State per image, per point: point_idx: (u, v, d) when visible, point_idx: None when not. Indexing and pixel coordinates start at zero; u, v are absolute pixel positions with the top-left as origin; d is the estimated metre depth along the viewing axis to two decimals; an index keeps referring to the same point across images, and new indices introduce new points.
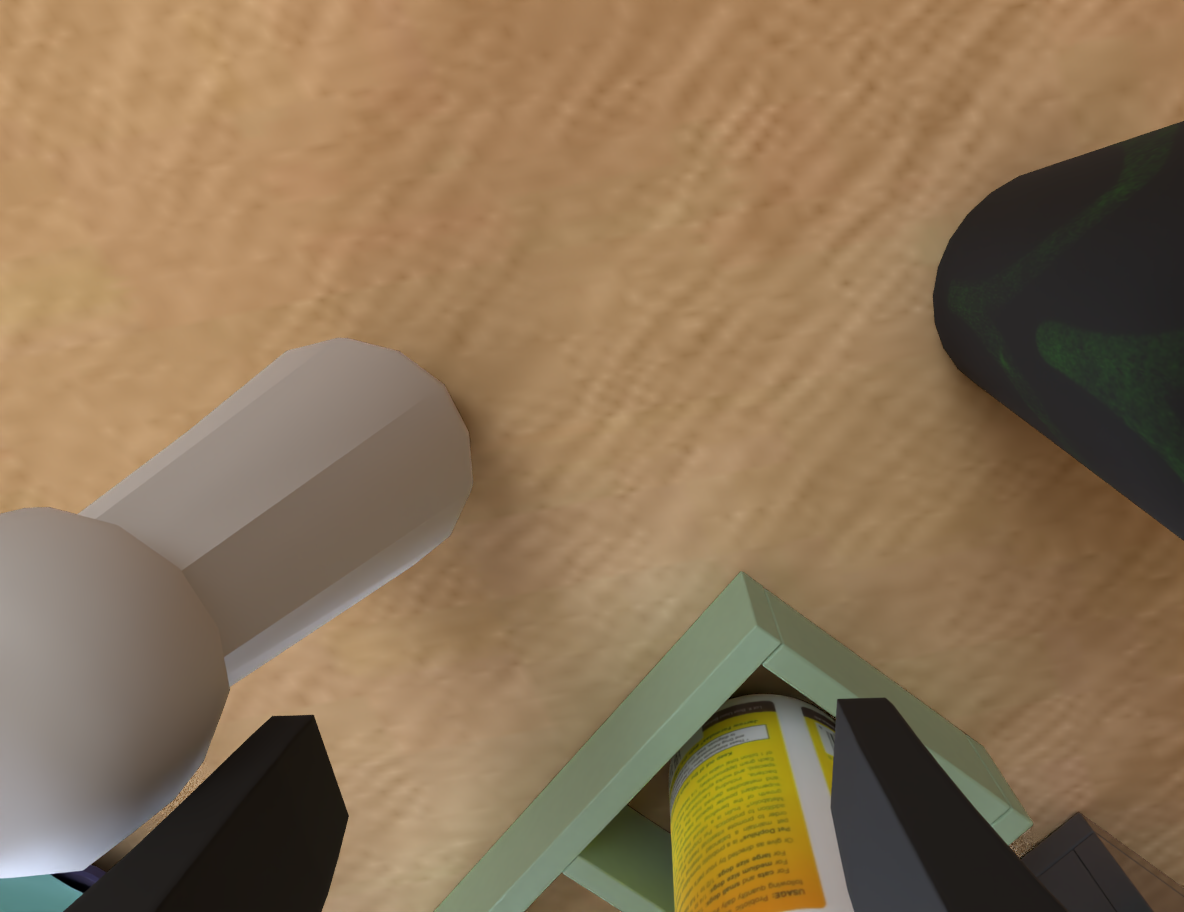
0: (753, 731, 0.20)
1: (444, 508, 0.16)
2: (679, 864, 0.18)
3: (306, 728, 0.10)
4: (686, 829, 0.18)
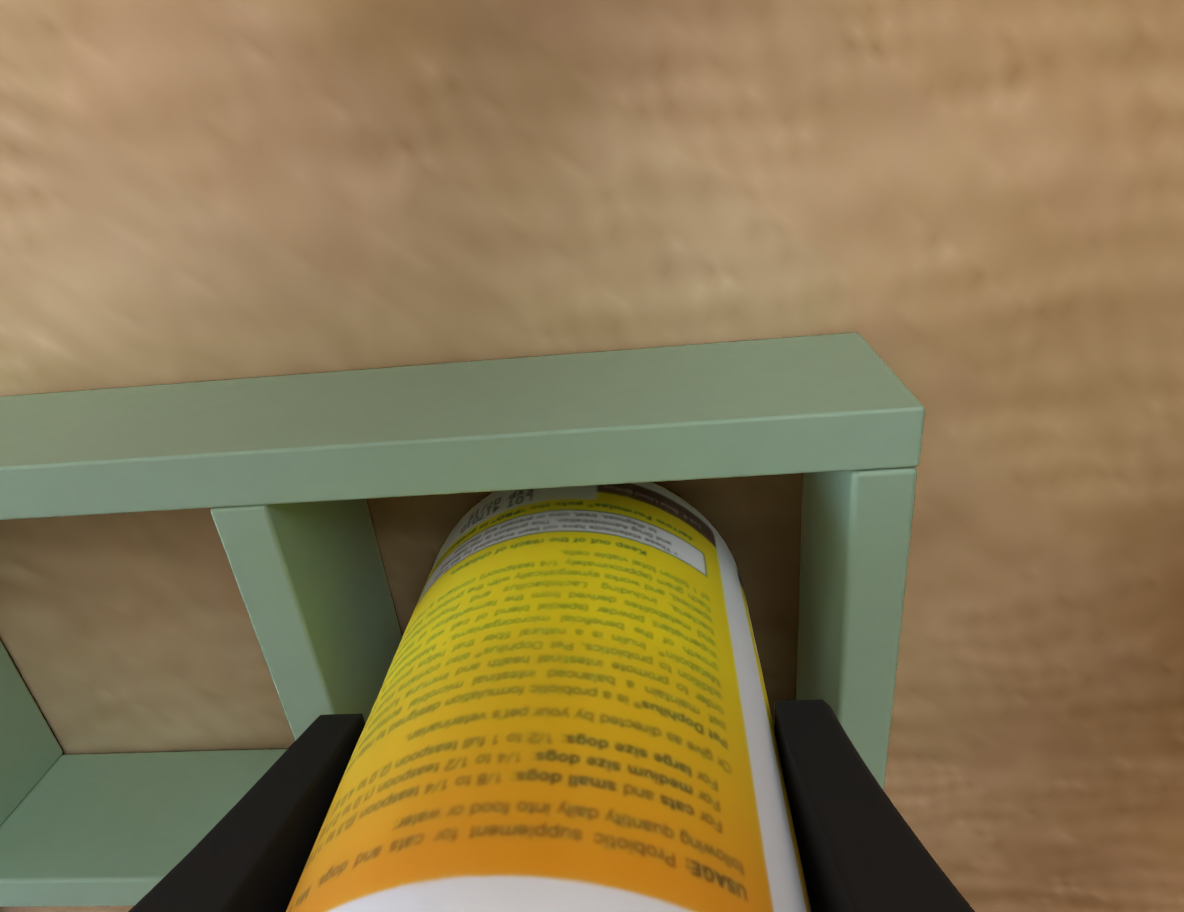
0: (687, 550, 0.11)
1: None
2: (457, 651, 0.09)
3: (355, 726, 0.10)
4: (504, 605, 0.09)
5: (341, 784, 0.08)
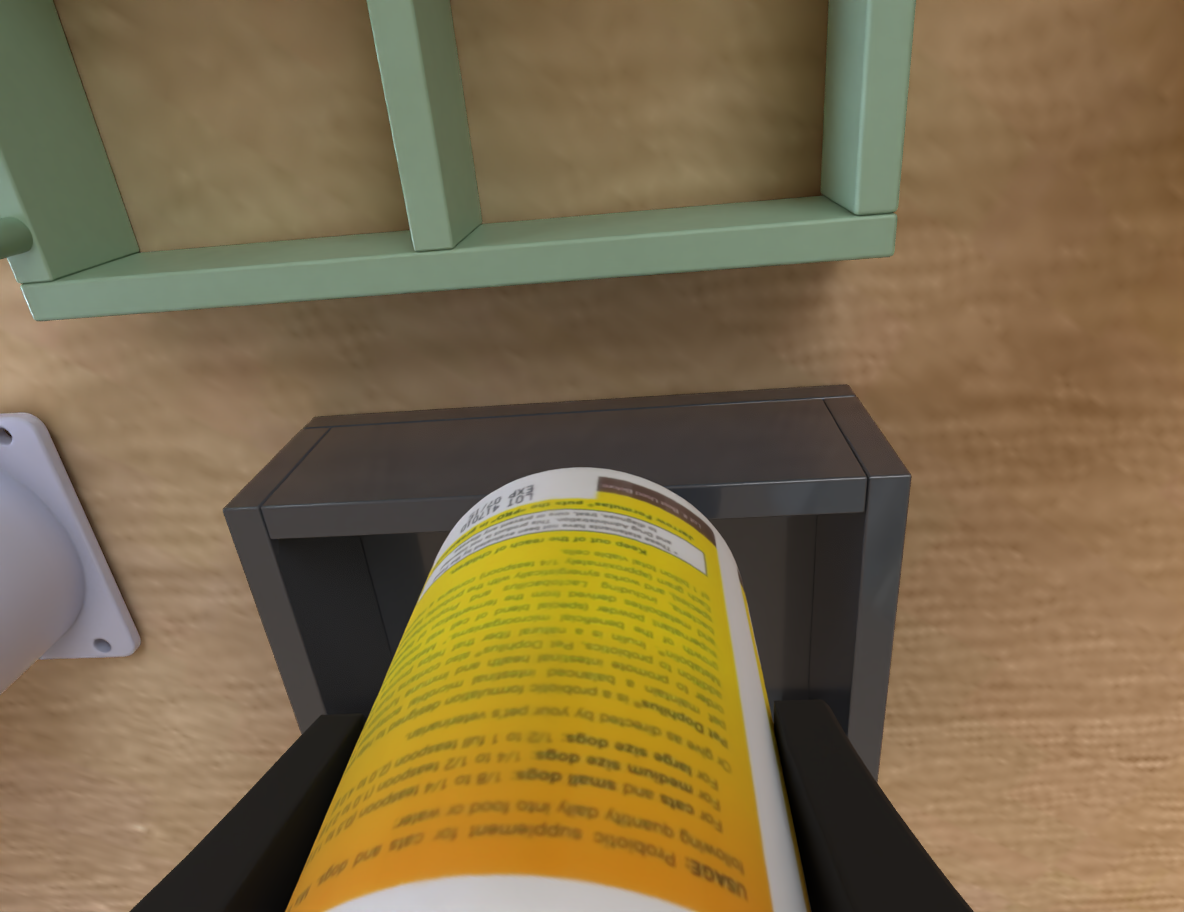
0: (687, 550, 0.11)
1: None
2: (457, 650, 0.09)
3: (356, 726, 0.10)
4: (505, 605, 0.09)
5: (341, 783, 0.08)
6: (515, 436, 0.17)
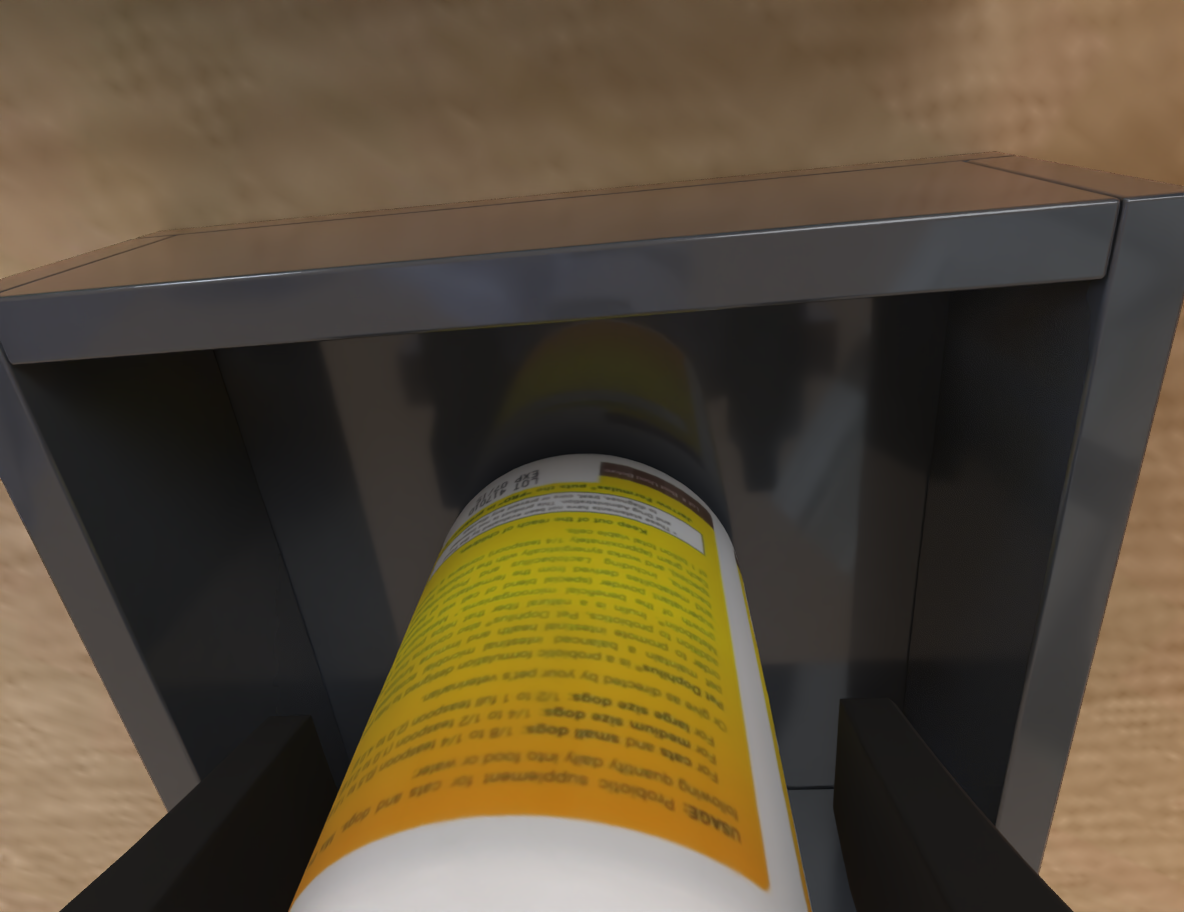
0: (685, 530, 0.11)
1: None
2: (468, 621, 0.09)
3: (303, 728, 0.10)
4: (513, 579, 0.10)
5: (359, 745, 0.09)
6: (458, 219, 0.10)
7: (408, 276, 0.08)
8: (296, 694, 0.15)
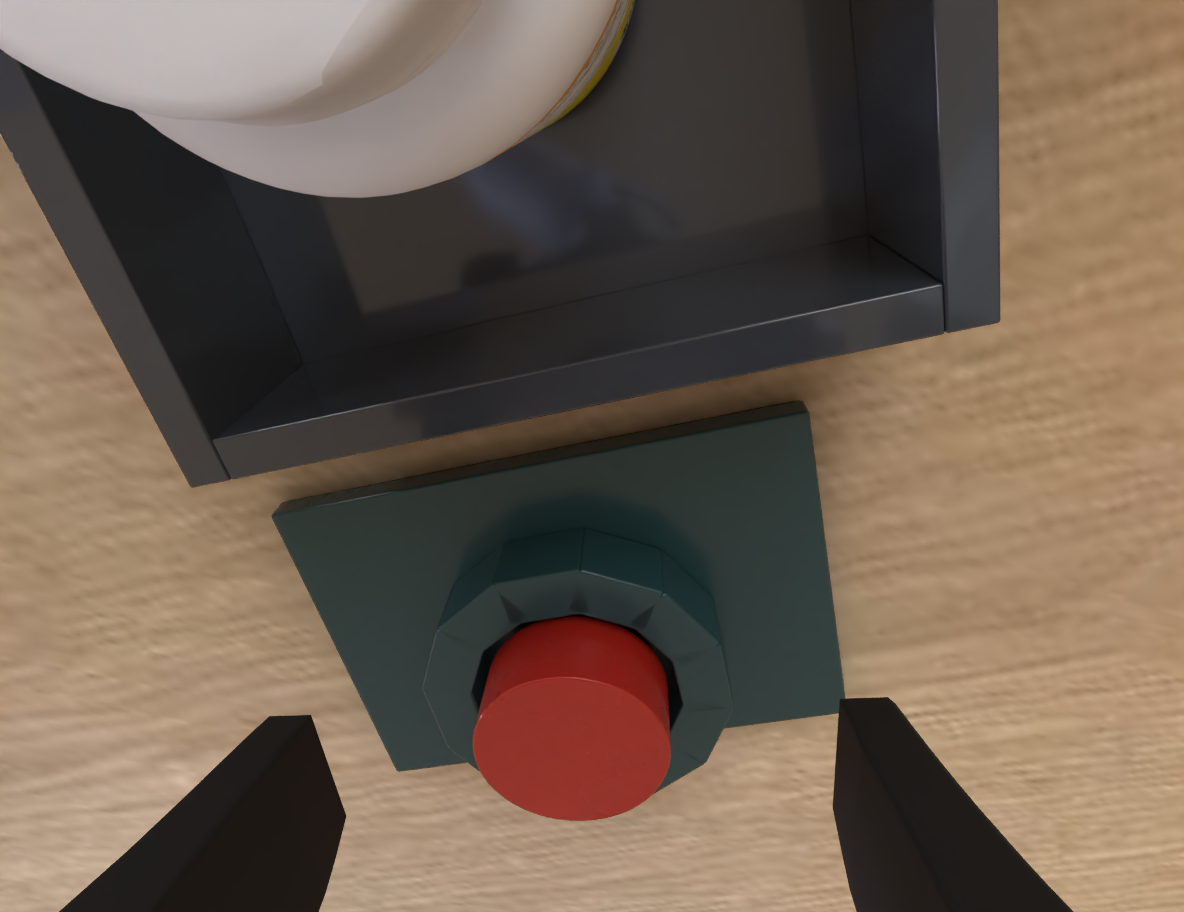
0: None
1: None
2: None
3: (303, 728, 0.10)
4: None
5: None
6: None
7: None
8: (190, 169, 0.14)
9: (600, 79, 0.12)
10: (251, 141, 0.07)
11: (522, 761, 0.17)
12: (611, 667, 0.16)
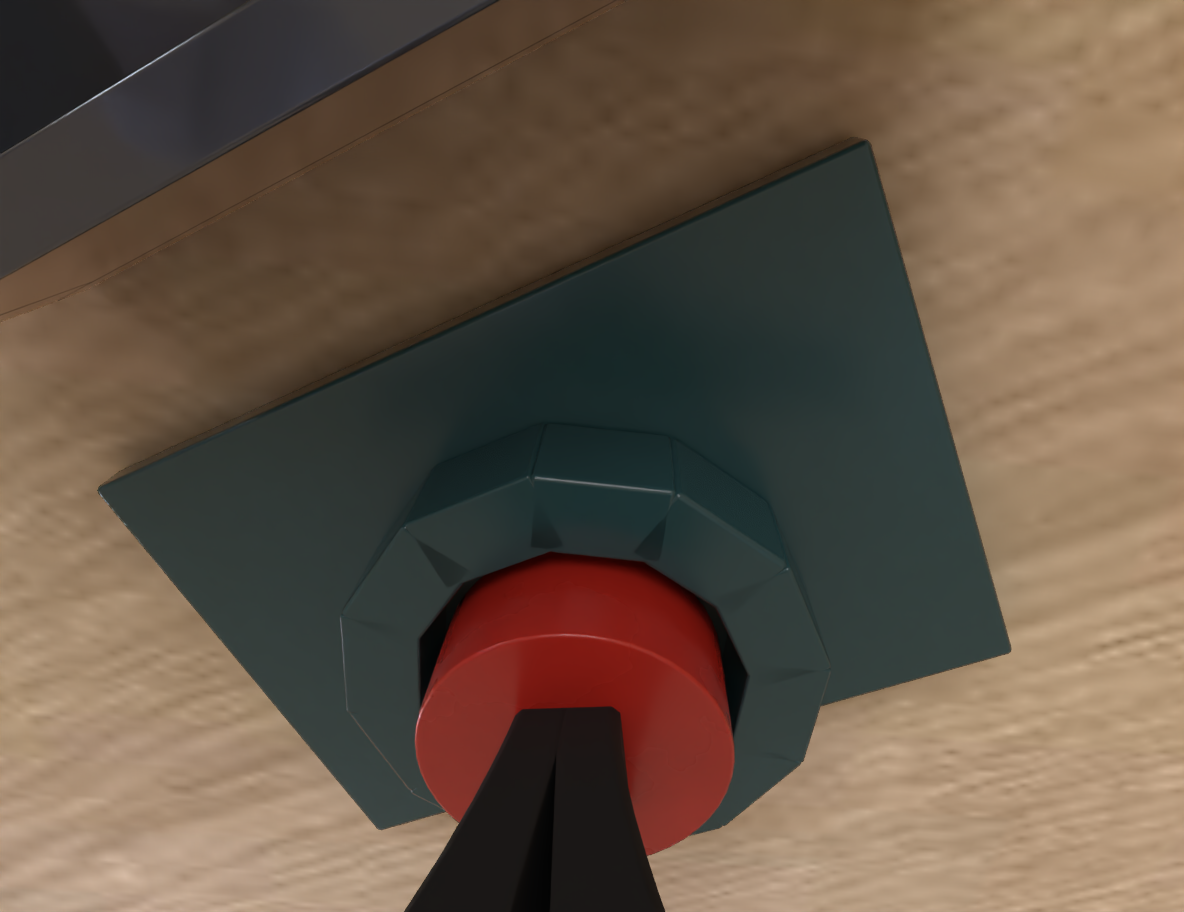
0: None
1: None
2: None
3: None
4: None
5: None
6: None
7: None
8: None
9: None
10: None
11: None
12: (609, 611, 0.10)
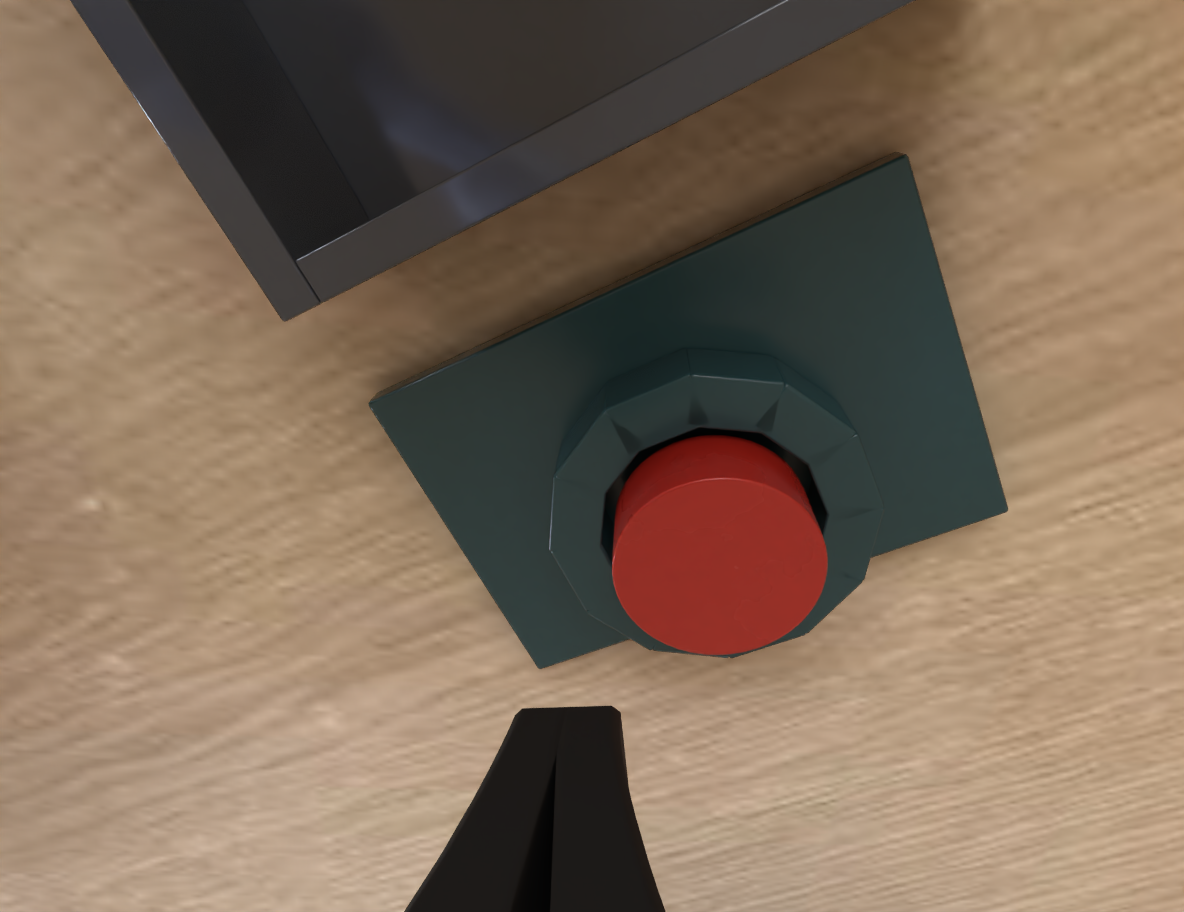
0: None
1: None
2: None
3: None
4: None
5: None
6: None
7: None
8: (226, 14, 0.13)
9: None
10: None
11: (668, 592, 0.16)
12: (745, 467, 0.15)
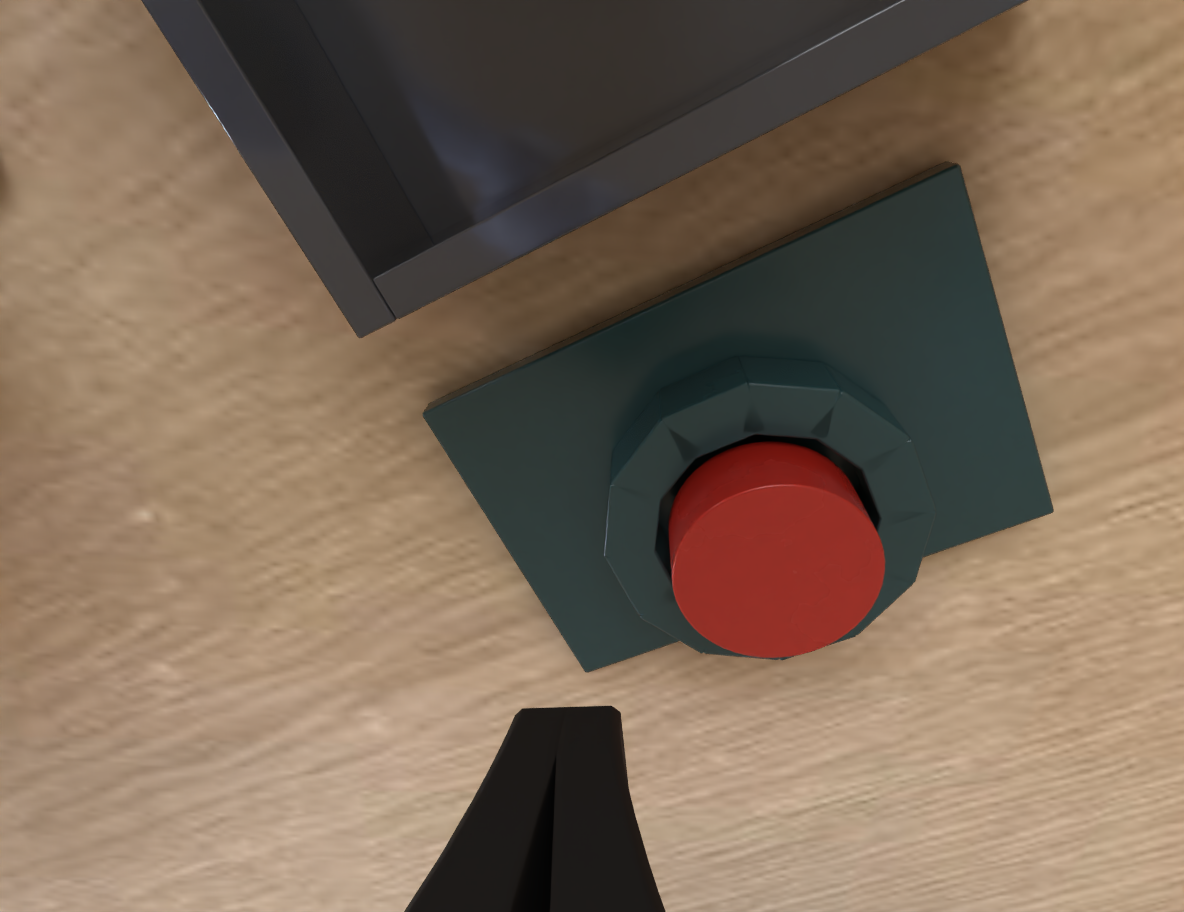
0: None
1: None
2: None
3: None
4: None
5: None
6: None
7: None
8: (296, 37, 0.14)
9: None
10: None
11: (726, 596, 0.16)
12: (804, 473, 0.15)
